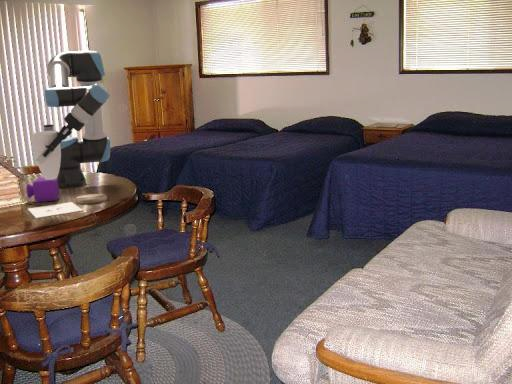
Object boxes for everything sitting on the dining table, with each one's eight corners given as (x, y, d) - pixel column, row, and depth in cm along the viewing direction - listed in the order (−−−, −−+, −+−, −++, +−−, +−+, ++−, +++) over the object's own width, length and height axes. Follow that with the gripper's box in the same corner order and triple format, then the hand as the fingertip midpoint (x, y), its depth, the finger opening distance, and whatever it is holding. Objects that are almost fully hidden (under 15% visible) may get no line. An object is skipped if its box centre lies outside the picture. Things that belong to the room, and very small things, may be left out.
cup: (61, 187, 219) (55, 133, 214) (34, 189, 219) (27, 134, 214) (68, 182, 230) (62, 130, 225) (42, 183, 229) (36, 131, 224)
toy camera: (26, 199, 248) (23, 177, 246) (58, 196, 253) (56, 174, 251) (27, 204, 238) (24, 182, 236) (60, 200, 243) (58, 178, 241)
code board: (27, 209, 230) (27, 208, 230) (71, 202, 239) (71, 202, 239) (36, 218, 215) (35, 217, 215) (82, 210, 224) (82, 210, 224)
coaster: (72, 200, 244) (72, 196, 243) (101, 195, 250) (101, 192, 250) (80, 205, 233) (80, 202, 233) (110, 200, 240) (110, 197, 239)
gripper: (82, 127, 211) (44, 171, 211) (87, 121, 232) (52, 161, 233) (66, 114, 209) (27, 158, 209) (73, 109, 230) (37, 149, 231)
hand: (40, 159), depth 221 cm, fingers closed on cup, 10 cm apart
